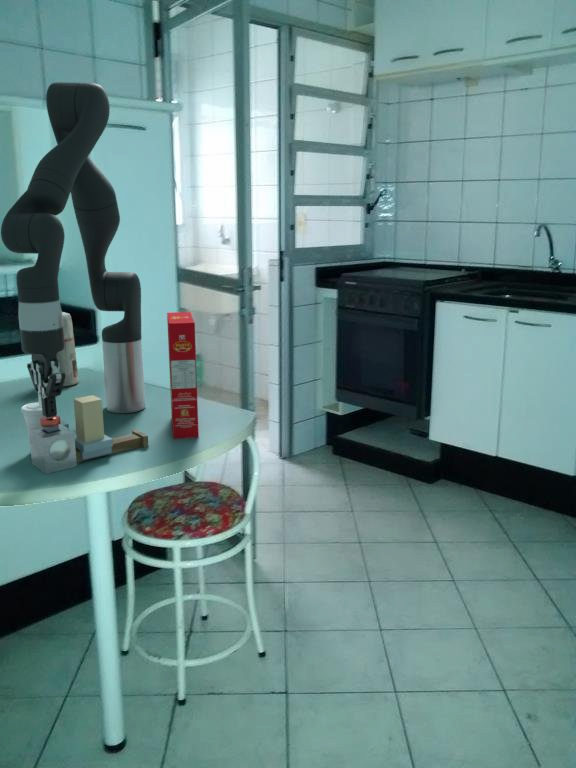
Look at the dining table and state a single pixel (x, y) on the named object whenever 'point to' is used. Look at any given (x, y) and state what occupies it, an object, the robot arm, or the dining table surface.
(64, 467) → the gauge cabinet
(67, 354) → the spray can
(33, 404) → the smoothie
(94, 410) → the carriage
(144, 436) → the rail
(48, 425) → the gauge button
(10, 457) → the dining table surface
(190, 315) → the food packaging
